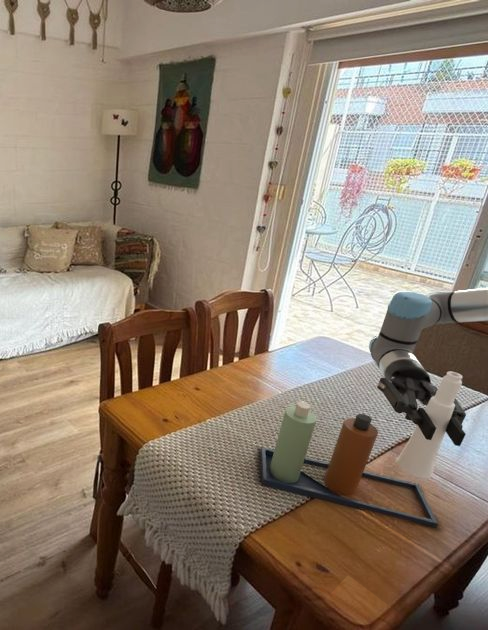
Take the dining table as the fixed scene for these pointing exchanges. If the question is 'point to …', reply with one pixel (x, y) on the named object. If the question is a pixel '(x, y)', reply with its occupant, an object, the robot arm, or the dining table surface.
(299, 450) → the sage bottle
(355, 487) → the amber bottle
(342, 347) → the dining table surface
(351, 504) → the tray
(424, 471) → the cosmetic bottle
